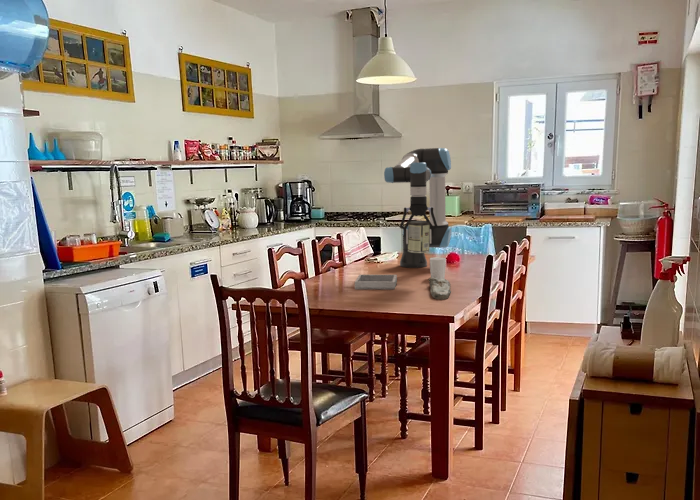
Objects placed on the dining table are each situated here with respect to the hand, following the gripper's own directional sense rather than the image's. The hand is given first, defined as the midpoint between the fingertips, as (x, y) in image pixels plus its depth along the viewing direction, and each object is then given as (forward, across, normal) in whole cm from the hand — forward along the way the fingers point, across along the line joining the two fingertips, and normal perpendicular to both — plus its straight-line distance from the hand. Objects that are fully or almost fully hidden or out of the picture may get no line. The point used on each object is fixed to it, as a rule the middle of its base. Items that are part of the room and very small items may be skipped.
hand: (418, 243), depth 281 cm
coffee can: (+4, 0, 0) cm, 4 cm away
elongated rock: (+20, +9, -14) cm, 27 cm away
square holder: (+20, -20, -2) cm, 28 cm away
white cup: (+20, +9, +15) cm, 27 cm away
